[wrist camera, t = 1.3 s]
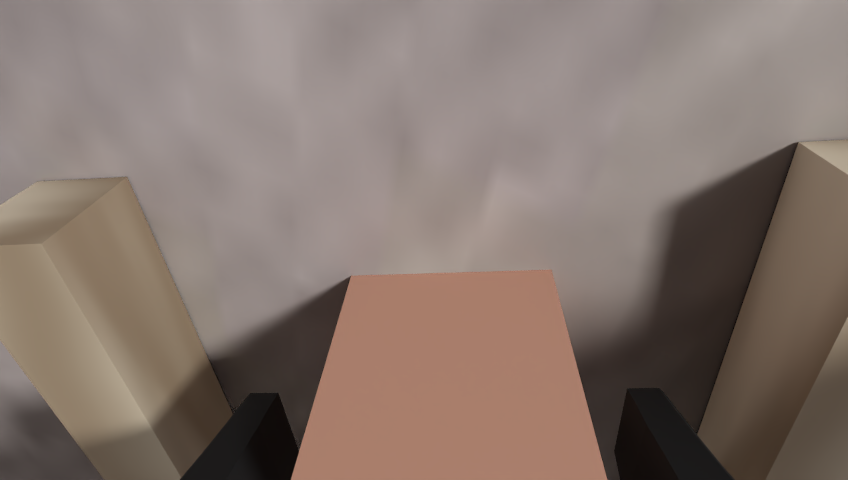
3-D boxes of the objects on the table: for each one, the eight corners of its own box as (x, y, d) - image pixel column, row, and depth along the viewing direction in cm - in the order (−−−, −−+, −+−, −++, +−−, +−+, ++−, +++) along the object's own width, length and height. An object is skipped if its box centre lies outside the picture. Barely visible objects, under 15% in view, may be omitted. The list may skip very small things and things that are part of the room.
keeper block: (550, 268, 11) (618, 522, 6) (541, 402, 13) (585, 657, 9) (351, 274, 11) (279, 518, 7) (377, 403, 14) (337, 647, 9)
